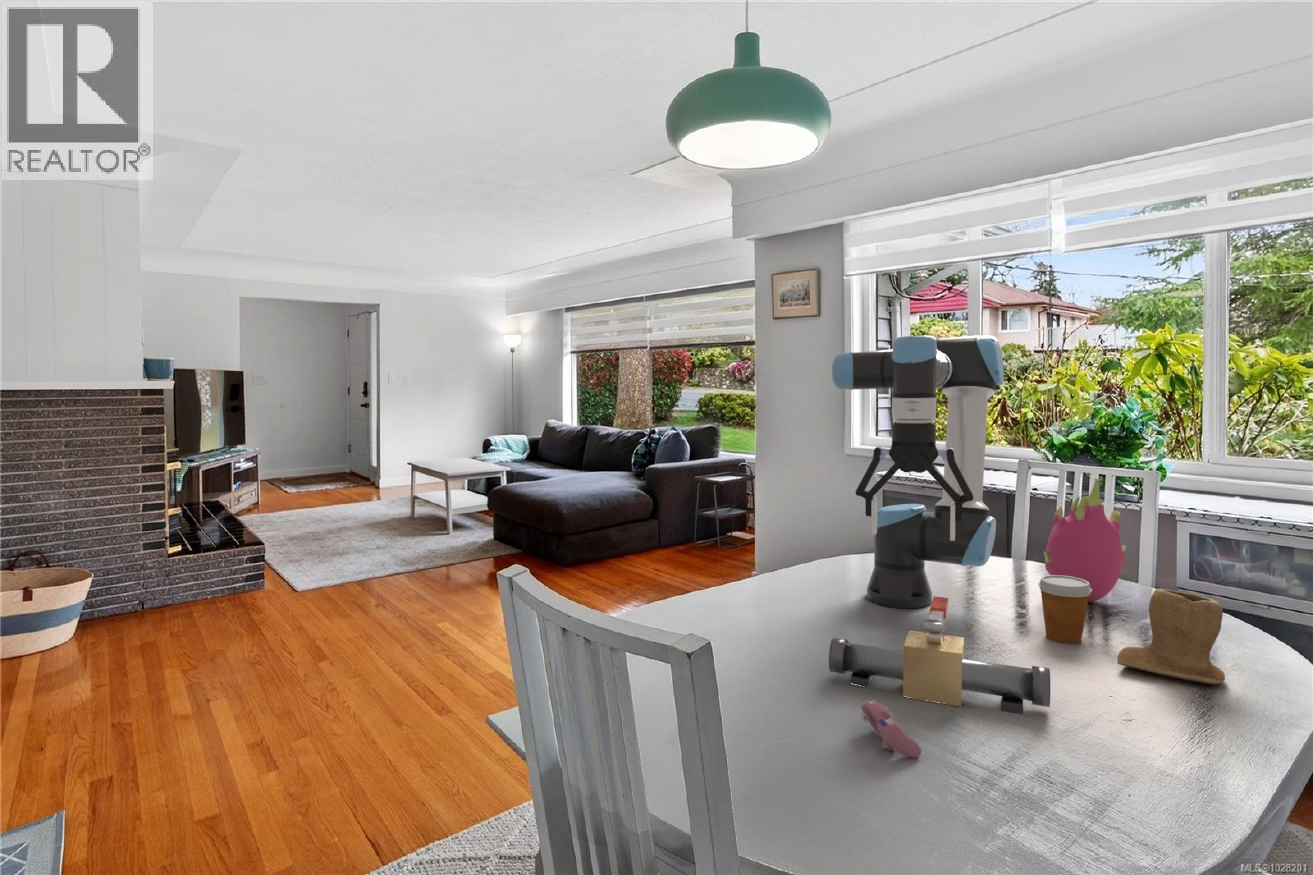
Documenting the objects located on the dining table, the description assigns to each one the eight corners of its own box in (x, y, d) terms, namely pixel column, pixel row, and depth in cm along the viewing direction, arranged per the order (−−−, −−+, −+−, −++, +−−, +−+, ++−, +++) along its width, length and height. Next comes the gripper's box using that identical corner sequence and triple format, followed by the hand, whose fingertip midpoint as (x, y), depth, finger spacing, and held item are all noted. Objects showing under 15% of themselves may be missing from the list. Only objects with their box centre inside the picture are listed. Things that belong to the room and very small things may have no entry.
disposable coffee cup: (1098, 647, 139) (1100, 588, 138) (1046, 645, 140) (1047, 586, 140) (1079, 631, 148) (1081, 575, 147) (1030, 628, 150) (1032, 573, 149)
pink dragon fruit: (1109, 594, 173) (1113, 473, 170) (1137, 611, 159) (1141, 481, 157) (1032, 591, 176) (1034, 473, 174) (1052, 608, 162) (1056, 480, 160)
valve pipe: (836, 668, 131) (837, 611, 130) (1046, 701, 116) (1048, 637, 115) (827, 684, 124) (827, 625, 123) (1050, 722, 109) (1051, 654, 108)
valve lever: (943, 635, 117) (944, 625, 117) (923, 632, 118) (923, 622, 118) (949, 607, 131) (950, 598, 131) (931, 605, 133) (931, 596, 133)
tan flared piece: (1226, 672, 126) (1230, 591, 125) (1223, 695, 117) (1227, 607, 116) (1126, 652, 136) (1128, 577, 135) (1115, 672, 127) (1118, 591, 126)
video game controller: (870, 737, 108) (850, 699, 108) (895, 723, 108) (876, 685, 108) (898, 772, 98) (876, 731, 98) (926, 756, 99) (904, 715, 98)
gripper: (840, 422, 129) (840, 535, 131) (989, 422, 119) (987, 545, 121) (847, 420, 136) (846, 527, 138) (989, 420, 126) (986, 537, 127)
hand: (912, 536), depth 129 cm, fingers open, 13 cm apart
